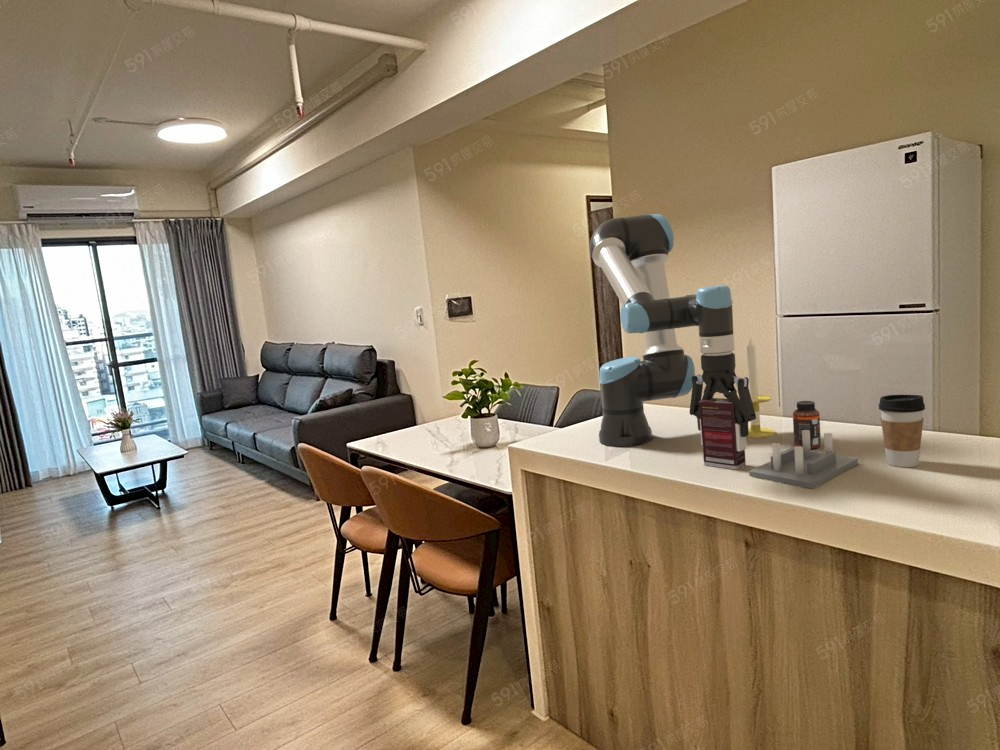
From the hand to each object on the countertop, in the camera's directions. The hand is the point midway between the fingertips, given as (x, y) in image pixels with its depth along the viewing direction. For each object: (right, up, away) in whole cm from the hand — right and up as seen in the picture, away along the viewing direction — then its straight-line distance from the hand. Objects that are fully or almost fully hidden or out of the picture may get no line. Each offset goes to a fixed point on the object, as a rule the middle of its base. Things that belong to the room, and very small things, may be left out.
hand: (723, 446), depth 145 cm
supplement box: (0, -5, +1) cm, 5 cm away
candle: (+18, +1, +24) cm, 30 cm away
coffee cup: (+35, -2, -12) cm, 37 cm away
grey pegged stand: (+15, -4, -9) cm, 18 cm away
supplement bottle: (+24, -1, +7) cm, 25 cm away
